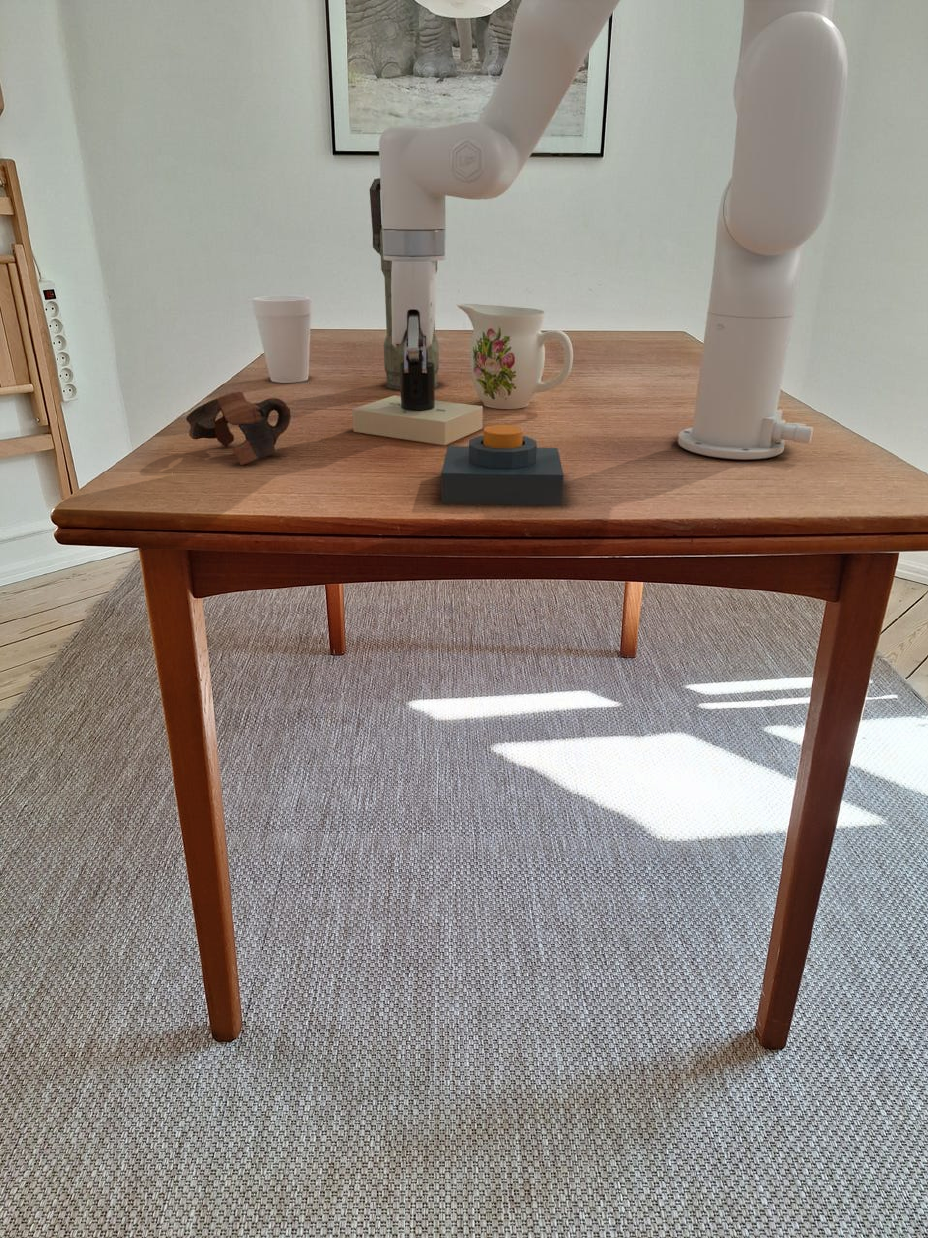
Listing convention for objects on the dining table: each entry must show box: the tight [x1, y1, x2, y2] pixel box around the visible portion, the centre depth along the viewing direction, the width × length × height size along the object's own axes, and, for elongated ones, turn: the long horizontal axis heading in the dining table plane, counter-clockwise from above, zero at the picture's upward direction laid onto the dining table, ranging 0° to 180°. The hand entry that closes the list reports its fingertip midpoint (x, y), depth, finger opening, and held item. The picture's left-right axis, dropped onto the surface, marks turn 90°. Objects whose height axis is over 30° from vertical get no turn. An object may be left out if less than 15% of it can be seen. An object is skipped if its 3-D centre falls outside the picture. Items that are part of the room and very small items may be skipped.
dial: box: [400, 361, 436, 411], centre depth 105 cm, size 4×4×6 cm
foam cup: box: [251, 294, 313, 384], centre depth 136 cm, size 10×9×13 cm
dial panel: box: [351, 394, 484, 446], centre depth 107 cm, size 14×10×3 cm
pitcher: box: [456, 303, 574, 410], centre depth 118 cm, size 11×18×14 cm, turn 65°
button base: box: [440, 435, 564, 506], centre depth 84 cm, size 12×10×5 cm
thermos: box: [369, 177, 446, 391], centre depth 127 cm, size 9×12×35 cm
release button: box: [482, 424, 524, 448], centre depth 83 cm, size 4×4×2 cm
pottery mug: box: [185, 391, 292, 466], centre depth 97 cm, size 12×10×8 cm
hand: (417, 398), depth 106 cm, fingers closed on dial, 4 cm apart
